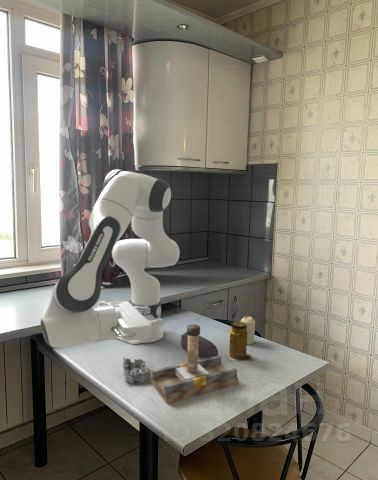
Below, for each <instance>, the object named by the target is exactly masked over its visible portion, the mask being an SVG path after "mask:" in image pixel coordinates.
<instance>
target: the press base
mask: <svg viewBox="0 0 378 480" xmlns="http://www.w3.org/2000/svg"><path fill="white" fill-rule="evenodd" d="M198 364H200V365H201V366H202V367H203V368H204V369H205V370H206V371H207V372H208V373H209V374H208V375H204V376H200V377H196V378H191V379H187V380H183V381H181V380H180V379H179V378H178V377H177V376H176V375H175V368H180V367H184V366H187V362H185V363H184V362H183V363H178V364H174V365H169V366H166V367H161V368H157V369H156V368H155V369H152V370H151V376H150V384H151V385H152V387H153V388H154V389H155V390H156V391H157V392H158V394H159V395H160V397H161V398H162V400H163V401H164V402H165V403H166V404H169V403H172V402H173V403H174V402H176V401H177V402H178V401H180V400H184V399H189V398H192V397H196V396H199V395H203V394H206V393H209V392H213V391H214V390H215V391H218V390H222V389H225V388H229V387H233V386H237V385H239V377H238V368H236V367H234V368H229V369H228V368H227V367H226V366H224V365H223V364H222V356H220V355H218V356H215V357H211V358H203V359H198Z"/></svg>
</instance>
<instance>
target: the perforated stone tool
mask: <svg viewBox="0 0 378 480" xmlns="http://www.w3.org/2000/svg"><path fill="white" fill-rule="evenodd" d="M180 347H181V348H182V350H184V351H186V352H187V353H188V335H187V331H186V332H184V333H183V334H182V335H181V338H180ZM215 356H219V349H218V347H217V346H216V345H215V344H214V343H213V342H212V341H210V340H209V339H207V338H206V337H203V336H201V335H199V341H198V357H201V358H203V359H206V358H211V357H215Z"/></svg>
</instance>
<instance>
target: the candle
mask: <svg viewBox="0 0 378 480" xmlns="http://www.w3.org/2000/svg"><path fill="white" fill-rule="evenodd" d="M240 322H243V323H245V324H246V326H247V327H246V329H247V330H246V331H247V345H252V344H254V343H255V331H256V320H255V319H254V318H253V317H252V316H250V315H249V316H246V315H245V316H243V317H242V318H241V319H240Z"/></svg>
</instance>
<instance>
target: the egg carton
mask: <svg viewBox="0 0 378 480" xmlns="http://www.w3.org/2000/svg"><path fill="white" fill-rule="evenodd" d="M122 359H123V365H122V369H123V373H124V379H125V382H127V383H129V384H133V383H134V382H137V381H138V382H141V383H144V382H145V381H146V380H148V371H149V369H148V364H147V363H148V362H147V359H146V358H143V359H142V358H139V359H136V358H135V359H134V360H132V361H131V358H126V357H125V356H124V357H123V358H122ZM139 367H140V368H139ZM128 368H129V369H131V371H130V372H129V369H128ZM129 373H131V376H130V375H129Z"/></svg>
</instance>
